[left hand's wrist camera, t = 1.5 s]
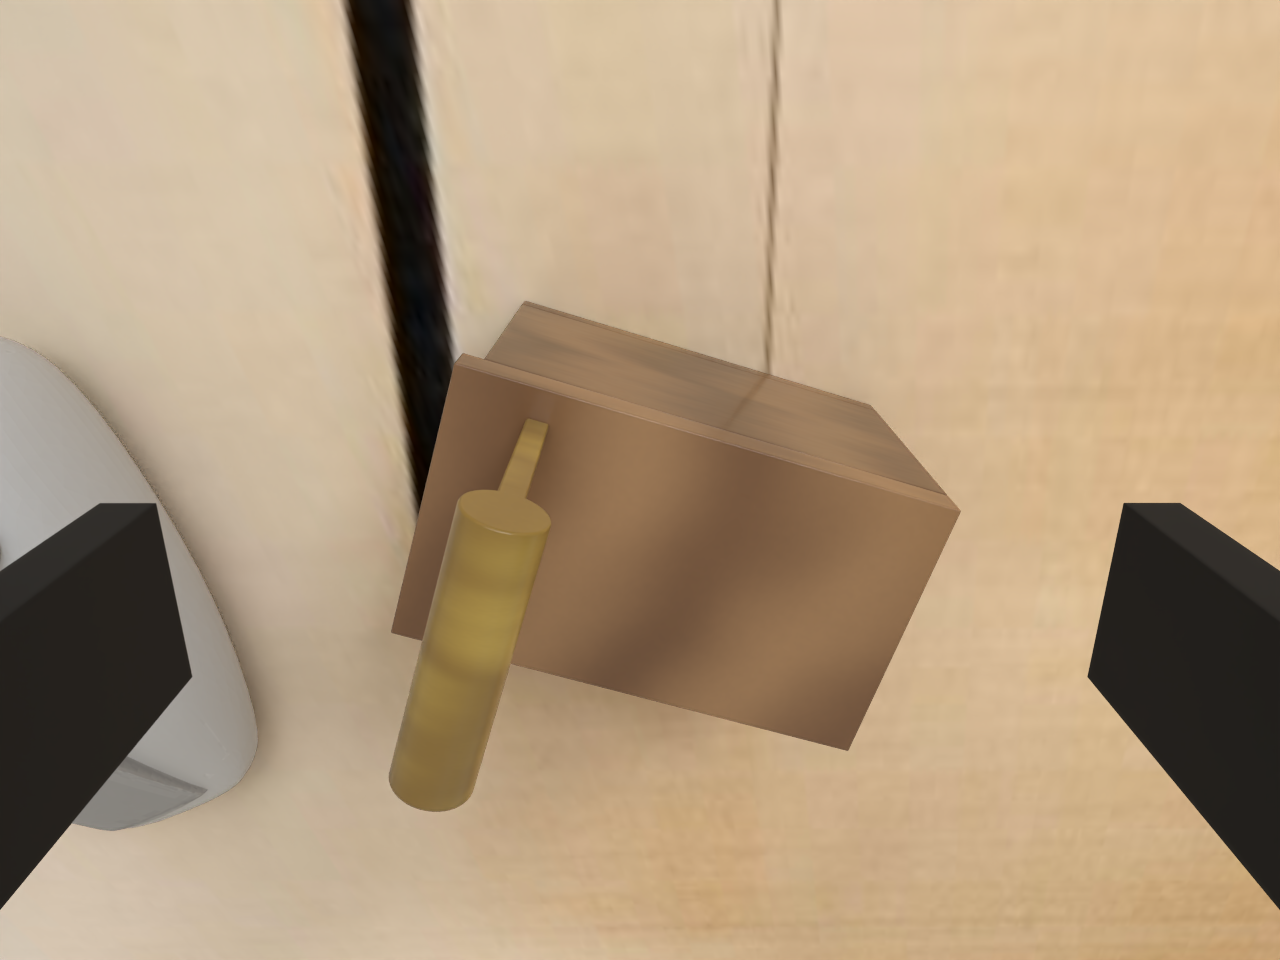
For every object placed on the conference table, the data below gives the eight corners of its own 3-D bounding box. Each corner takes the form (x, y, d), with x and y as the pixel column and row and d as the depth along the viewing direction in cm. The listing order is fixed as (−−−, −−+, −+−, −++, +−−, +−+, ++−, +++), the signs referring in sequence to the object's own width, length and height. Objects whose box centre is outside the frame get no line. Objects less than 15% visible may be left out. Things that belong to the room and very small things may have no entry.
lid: (400, 614, 30) (301, 811, 22) (462, 352, 27) (376, 458, 18) (840, 729, 32) (917, 955, 23) (948, 495, 29) (1084, 655, 20)
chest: (472, 502, 40) (419, 617, 30) (524, 300, 37) (484, 358, 27) (794, 591, 42) (840, 728, 32) (871, 405, 38) (947, 494, 29)
